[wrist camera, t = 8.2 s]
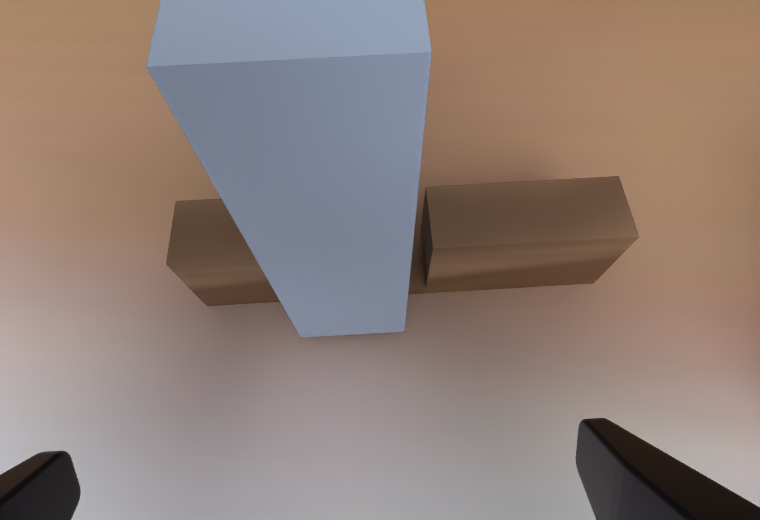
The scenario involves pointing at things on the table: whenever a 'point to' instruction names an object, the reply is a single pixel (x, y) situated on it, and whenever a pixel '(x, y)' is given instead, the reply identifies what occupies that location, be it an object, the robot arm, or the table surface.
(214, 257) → the notched walnut block
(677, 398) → the table surface
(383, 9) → the pale blue block
